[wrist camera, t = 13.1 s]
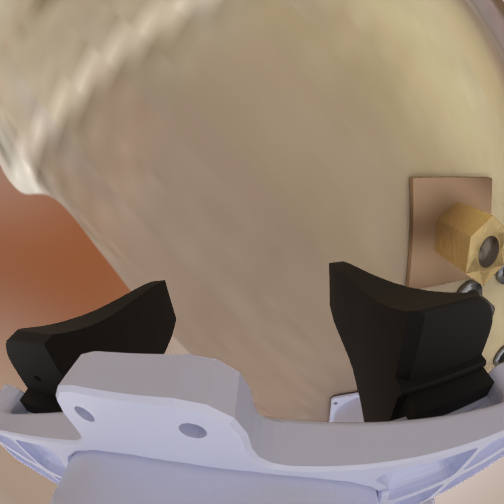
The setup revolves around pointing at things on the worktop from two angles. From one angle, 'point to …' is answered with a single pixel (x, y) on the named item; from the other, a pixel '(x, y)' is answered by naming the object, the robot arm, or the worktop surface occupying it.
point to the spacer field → (473, 286)
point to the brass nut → (471, 241)
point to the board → (425, 218)
